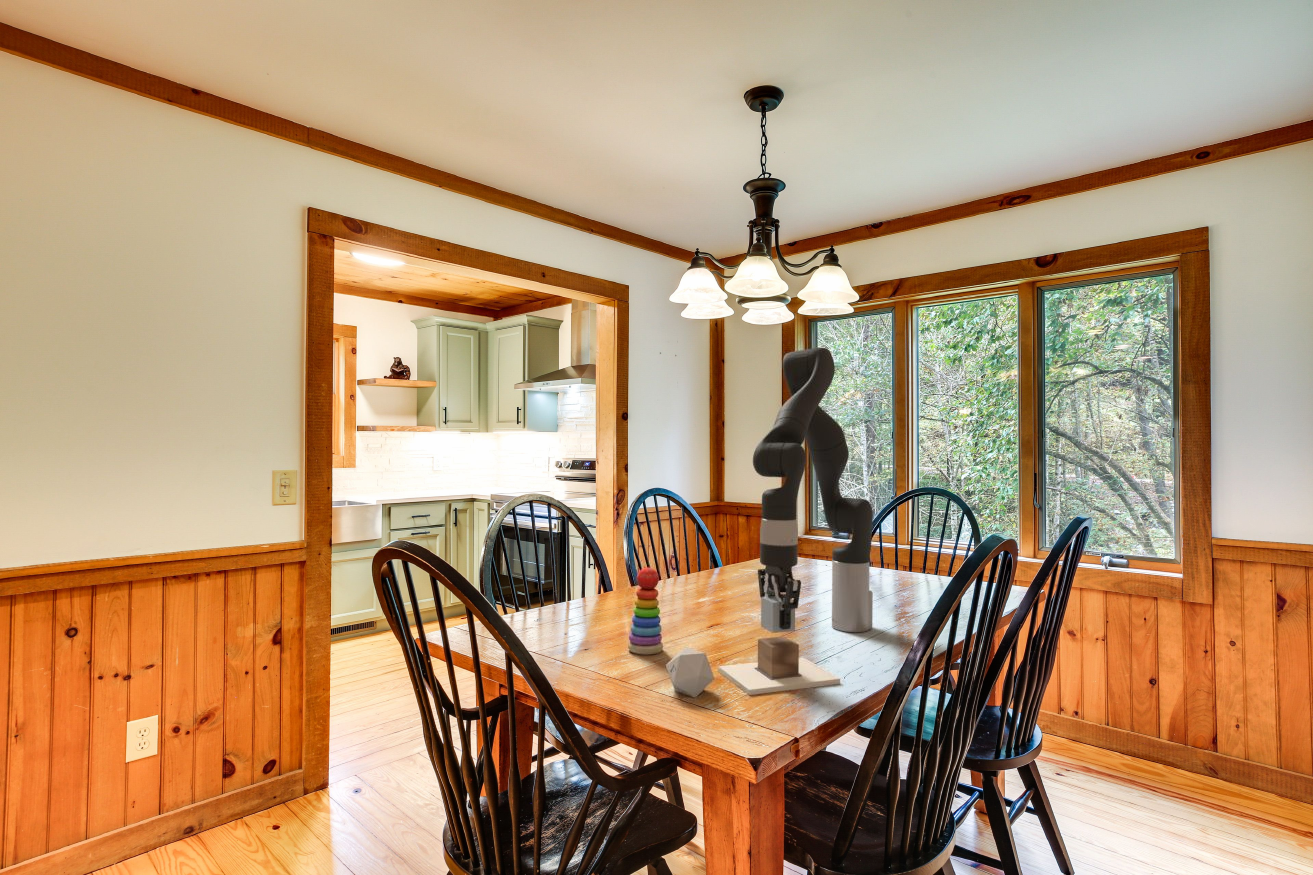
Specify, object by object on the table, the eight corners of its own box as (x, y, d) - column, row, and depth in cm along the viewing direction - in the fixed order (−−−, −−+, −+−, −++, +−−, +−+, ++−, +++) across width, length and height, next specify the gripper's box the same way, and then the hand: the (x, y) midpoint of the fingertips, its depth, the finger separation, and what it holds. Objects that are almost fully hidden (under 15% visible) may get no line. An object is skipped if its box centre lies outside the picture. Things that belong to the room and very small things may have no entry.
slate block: (782, 624, 143) (782, 595, 143) (794, 630, 138) (795, 600, 138) (760, 626, 141) (761, 597, 141) (772, 632, 137) (772, 602, 137)
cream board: (802, 661, 150) (802, 656, 150) (840, 683, 137) (840, 677, 137) (718, 671, 143) (718, 665, 143) (749, 695, 130) (749, 688, 130)
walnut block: (783, 665, 144) (783, 636, 144) (798, 674, 138) (798, 644, 138) (757, 668, 142) (757, 638, 142) (771, 677, 136) (772, 647, 136)
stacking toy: (650, 658, 151) (651, 572, 151) (621, 651, 156) (621, 568, 156) (669, 648, 158) (670, 567, 158) (640, 643, 162) (641, 563, 162)
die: (673, 684, 137) (654, 652, 133) (711, 662, 138) (693, 630, 133) (686, 714, 130) (666, 681, 125) (726, 691, 130) (707, 657, 126)
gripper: (814, 545, 134) (813, 633, 134) (777, 535, 148) (777, 615, 148) (780, 547, 132) (779, 636, 132) (746, 536, 146) (745, 617, 145)
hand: (778, 624), depth 140 cm, fingers closed on slate block, 5 cm apart
